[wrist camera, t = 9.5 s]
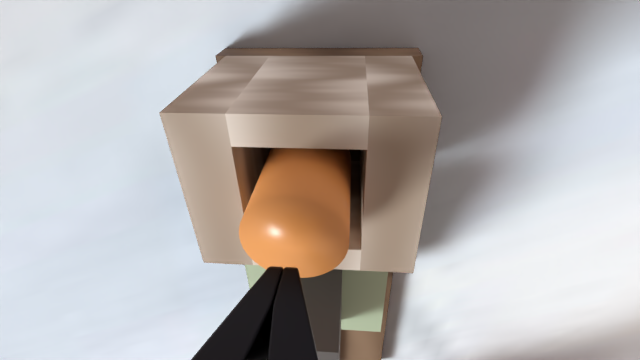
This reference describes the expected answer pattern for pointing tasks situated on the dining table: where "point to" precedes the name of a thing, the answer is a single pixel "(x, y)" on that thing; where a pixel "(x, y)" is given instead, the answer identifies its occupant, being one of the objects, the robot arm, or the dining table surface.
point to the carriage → (339, 304)
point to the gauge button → (300, 211)
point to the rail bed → (315, 133)
